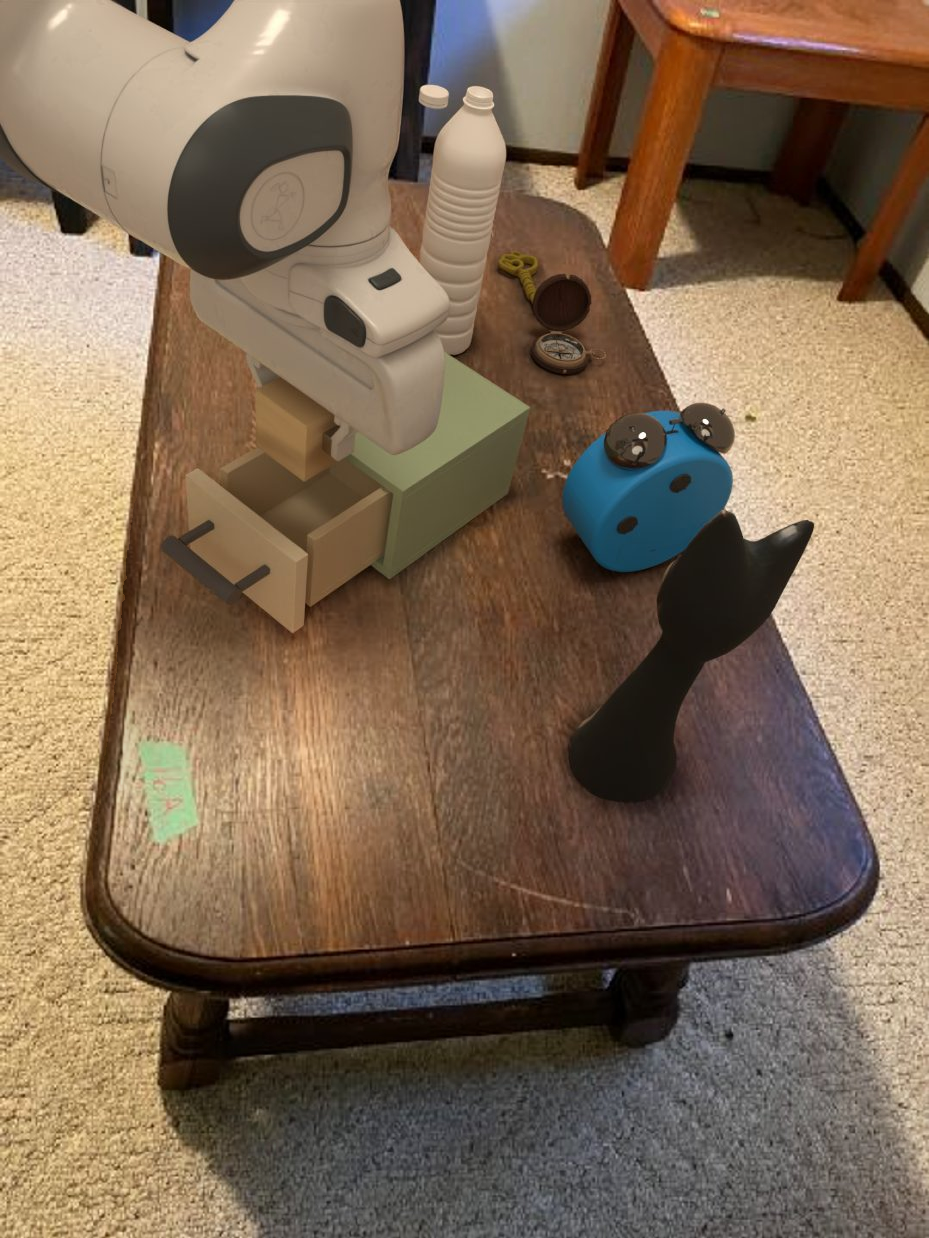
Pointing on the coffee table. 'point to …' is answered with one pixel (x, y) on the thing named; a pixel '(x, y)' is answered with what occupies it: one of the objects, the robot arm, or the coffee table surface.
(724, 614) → the figurine
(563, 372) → the compass
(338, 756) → the coffee table surface
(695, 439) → the alarm clock
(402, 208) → the coffee table surface
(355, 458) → the cabinet
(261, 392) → the block
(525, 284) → the key
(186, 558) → the drawer
